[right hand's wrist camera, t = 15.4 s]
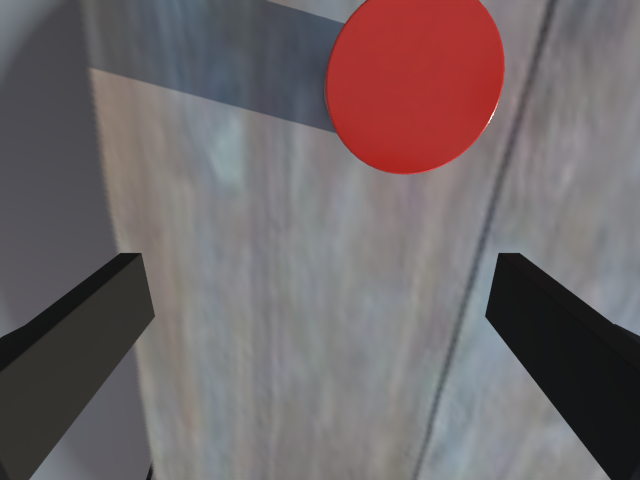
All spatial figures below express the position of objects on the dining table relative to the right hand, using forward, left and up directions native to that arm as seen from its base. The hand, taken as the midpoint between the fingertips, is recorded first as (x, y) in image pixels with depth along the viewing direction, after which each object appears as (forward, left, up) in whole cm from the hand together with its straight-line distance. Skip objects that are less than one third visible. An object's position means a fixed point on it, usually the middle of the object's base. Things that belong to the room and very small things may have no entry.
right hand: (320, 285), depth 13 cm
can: (+6, +5, -17) cm, 18 cm away
